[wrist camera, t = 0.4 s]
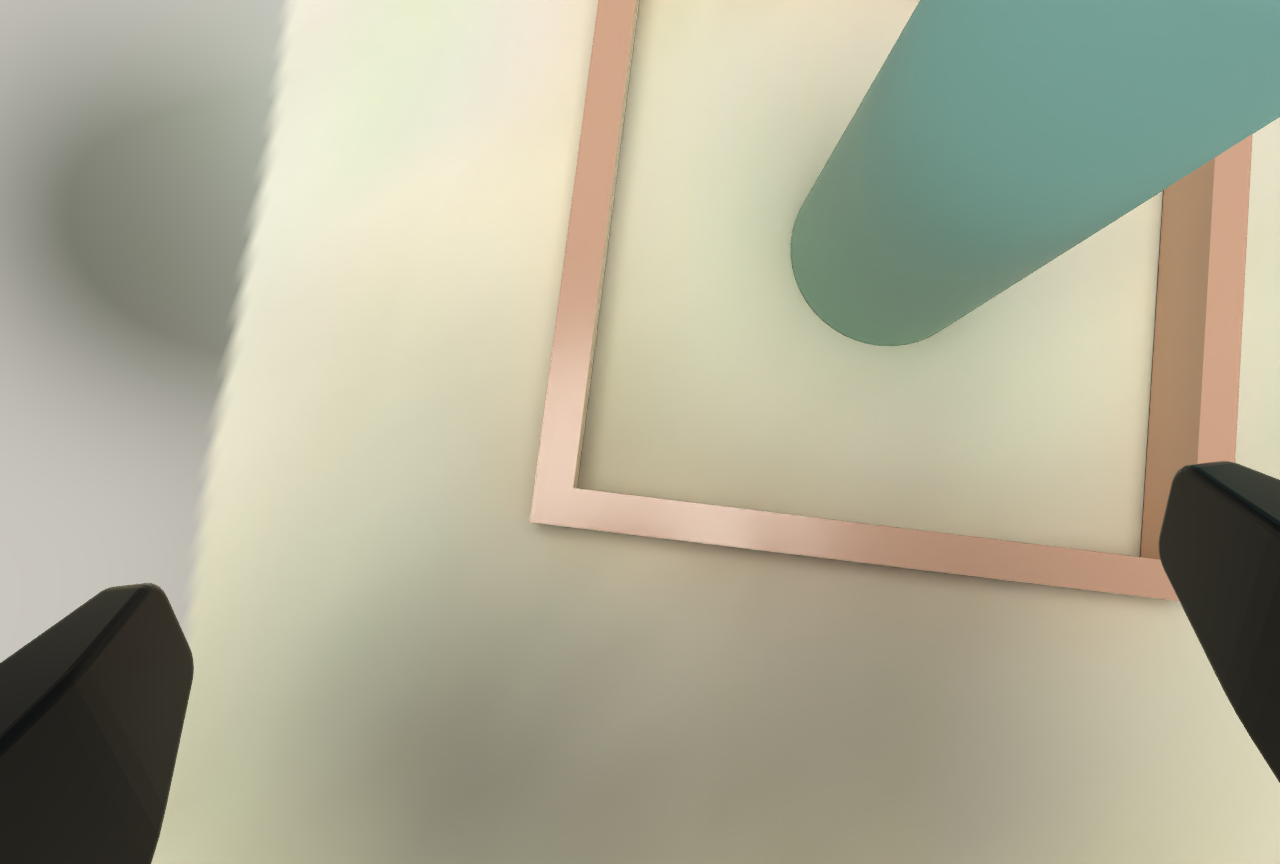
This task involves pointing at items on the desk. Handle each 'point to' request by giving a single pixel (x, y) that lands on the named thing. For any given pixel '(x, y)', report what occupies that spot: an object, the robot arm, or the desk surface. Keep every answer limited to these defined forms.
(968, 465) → the desk surface
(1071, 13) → the canister
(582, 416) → the pink square frame
